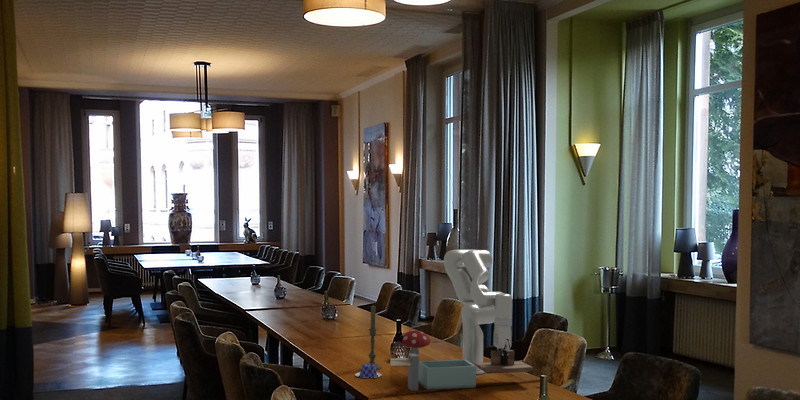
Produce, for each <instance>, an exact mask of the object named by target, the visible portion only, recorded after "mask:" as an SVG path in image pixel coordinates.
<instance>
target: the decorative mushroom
mask: <svg viewBox="0 0 800 400" xmlns="http://www.w3.org/2000/svg"><path fill="white" fill-rule="evenodd" d="M401 336H403V339H402V344H401V345H402V346H404V347H406V348H409V354H414V353H415V354H417V355H418V356H419V357H420V348H424V347H427V346H429V345H430V343H431V342H432V340H431V338H430V336H429V335H428V334H426V333H425V332H423V331H420V330H417V329H411V330H408V331H407V332H406V331H405V333H403V334H402V335H401Z"/></svg>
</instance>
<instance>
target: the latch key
mask: <svg viewBox="0 0 800 400" xmlns="http://www.w3.org/2000/svg"><path fill="white" fill-rule="evenodd" d="M389 365H390V366H391V367H398V366H399V367H400V366H402V367H403V366H404V367H405V366H408V365H411V358H408V357H403V358H397V357H396V358H390V360H389Z"/></svg>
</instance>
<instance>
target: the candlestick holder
mask: <svg viewBox="0 0 800 400" xmlns="http://www.w3.org/2000/svg"><path fill="white" fill-rule="evenodd" d="M368 331H369V333H368V334H369V336H371V337H370V353H369V354H368V358H369V362H367V363H366V364H374V365H375V368H376V371H378V370H381V369H383V367H382V365H380V364H379V363H377V362H376V361H375V359H376V357H377V353H375V351H374V350H375V341H376V340H375V336H376V335H377V331H378V329H377V328H376V306H375V305H374V304H372V306H370V328H369V329H368Z"/></svg>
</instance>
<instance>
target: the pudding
mask: <svg viewBox="0 0 800 400" xmlns="http://www.w3.org/2000/svg"><path fill="white" fill-rule="evenodd" d="M377 375H378V377H377ZM354 376H356V377H358V378H361V379H362V378H363V379H376V378H380V377H381V376H383V374H381V373H379V372H377V370H376V368H375V365H374V364H367V363H363V364H362V365H361V368H360V372H357V373H355V375H354ZM359 376H360V377H359ZM369 377H371V378H369ZM373 377H374V378H373Z"/></svg>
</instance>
